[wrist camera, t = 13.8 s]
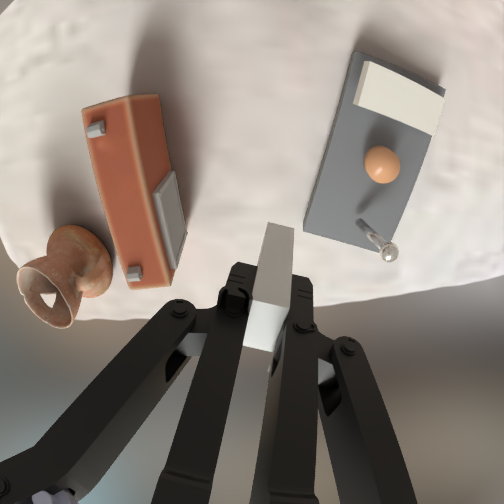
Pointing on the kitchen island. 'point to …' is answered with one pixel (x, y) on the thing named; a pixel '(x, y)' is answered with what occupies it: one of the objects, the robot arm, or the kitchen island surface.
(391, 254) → the toggle lever
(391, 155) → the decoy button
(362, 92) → the rocker switch
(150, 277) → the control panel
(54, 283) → the ceramic jug
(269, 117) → the kitchen island surface
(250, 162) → the kitchen island surface
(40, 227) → the kitchen island surface
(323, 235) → the switch panel
